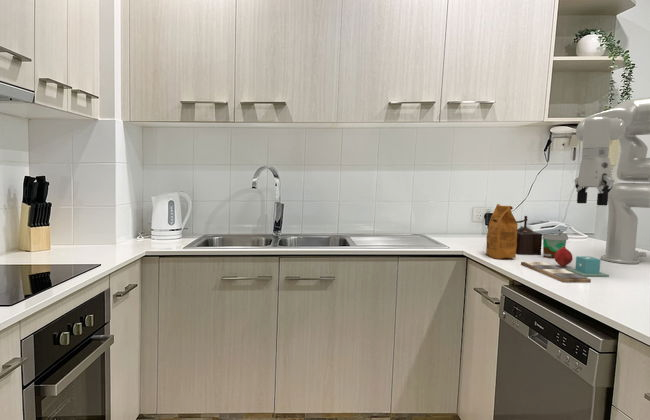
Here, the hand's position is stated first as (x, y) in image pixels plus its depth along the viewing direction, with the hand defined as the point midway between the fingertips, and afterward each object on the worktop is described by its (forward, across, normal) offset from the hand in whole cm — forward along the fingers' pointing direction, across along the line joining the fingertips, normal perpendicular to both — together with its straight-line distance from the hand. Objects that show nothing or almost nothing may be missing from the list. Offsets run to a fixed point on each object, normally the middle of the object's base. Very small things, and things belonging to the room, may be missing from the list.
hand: (591, 204), depth 134 cm
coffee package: (+24, +28, +17) cm, 41 cm away
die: (+24, 0, 0) cm, 24 cm away
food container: (+24, +27, -7) cm, 37 cm away
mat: (+24, 0, 0) cm, 24 cm away
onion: (+24, +10, +2) cm, 27 cm away
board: (+24, +1, +12) cm, 27 cm away
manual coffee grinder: (+25, +38, +4) cm, 45 cm away
